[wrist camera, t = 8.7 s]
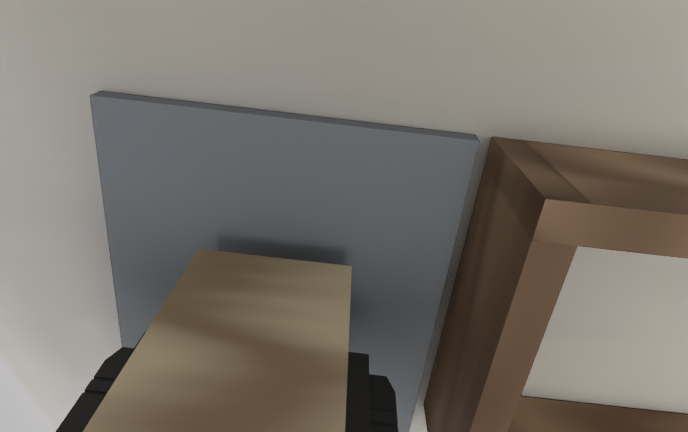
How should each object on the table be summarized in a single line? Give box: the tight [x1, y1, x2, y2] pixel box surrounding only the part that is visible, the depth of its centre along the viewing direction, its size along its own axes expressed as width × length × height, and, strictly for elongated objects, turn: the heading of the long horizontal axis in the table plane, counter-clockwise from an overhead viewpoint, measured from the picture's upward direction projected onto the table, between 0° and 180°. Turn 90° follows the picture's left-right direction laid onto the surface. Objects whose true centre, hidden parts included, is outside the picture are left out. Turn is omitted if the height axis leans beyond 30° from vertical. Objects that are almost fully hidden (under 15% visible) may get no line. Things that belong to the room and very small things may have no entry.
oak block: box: [83, 249, 352, 432], centre depth 11 cm, size 4×4×8 cm
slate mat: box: [90, 91, 480, 432], centre depth 16 cm, size 11×12×1 cm
